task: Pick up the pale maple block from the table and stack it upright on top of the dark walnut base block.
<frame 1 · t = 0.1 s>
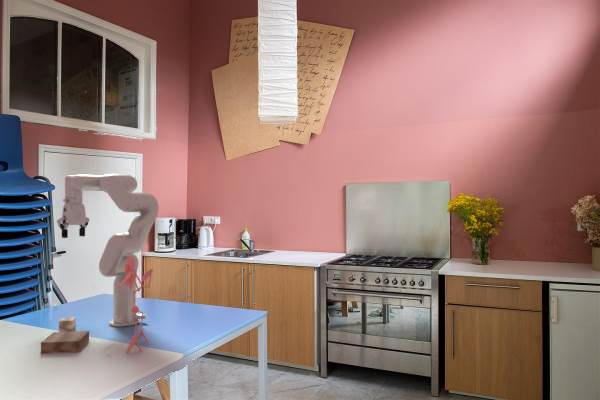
hand: (73, 237, 221), 37 cm above the table, fingers open, 9 cm apart
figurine: (127, 349, 174), on the table
walnut base: (66, 347, 175), on the table
maple block: (67, 333, 192), on the table
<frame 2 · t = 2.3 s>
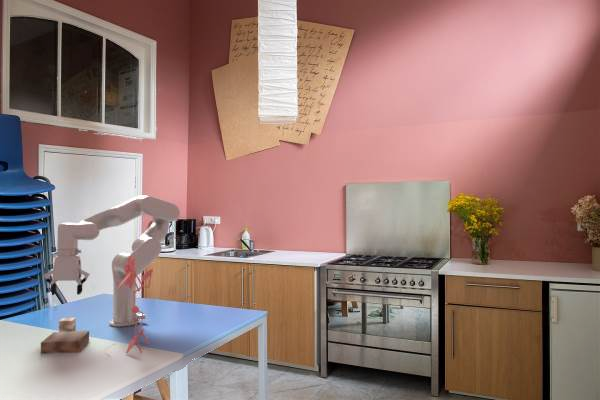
hand: (66, 294, 191), 16 cm above the table, fingers open, 9 cm apart
nothing on the table moved.
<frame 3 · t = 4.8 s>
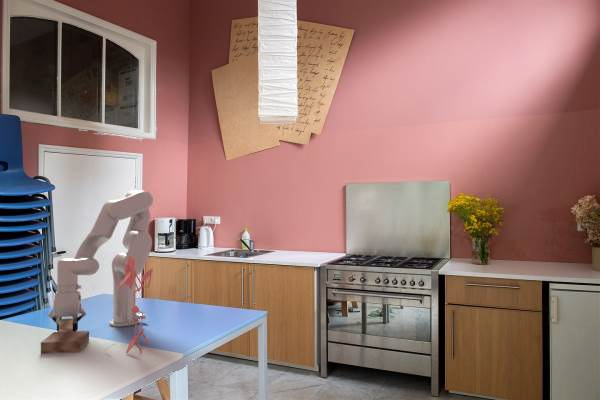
hand: (67, 331, 192), 1 cm above the table, fingers closed on maple block, 5 cm apart
maple block: (67, 333, 192), on the table, touching gripper
everything else where it was.
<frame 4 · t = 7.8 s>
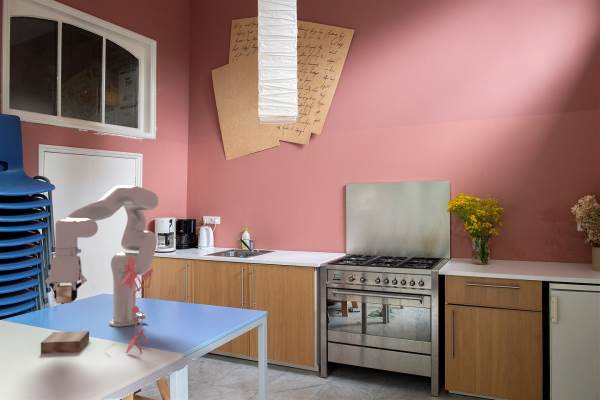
hand: (65, 299, 175), 18 cm above the table, fingers closed on maple block, 5 cm apart
maple block: (65, 301, 175), point 17 cm above the table, touching gripper
everything else where it was.
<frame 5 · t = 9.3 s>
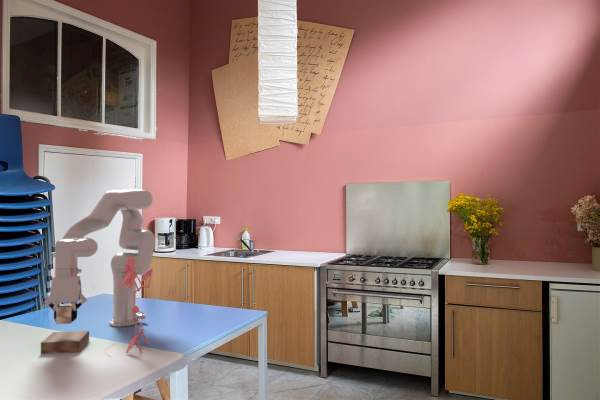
hand: (65, 320, 175), 10 cm above the table, fingers closed on maple block, 5 cm apart
maple block: (65, 322, 175), point 10 cm above the table, touching gripper
everything else where it was.
when the fingers open (6 cm above the table, at t = 10.9 s): maple block drops 1 cm, resting on walnut base.
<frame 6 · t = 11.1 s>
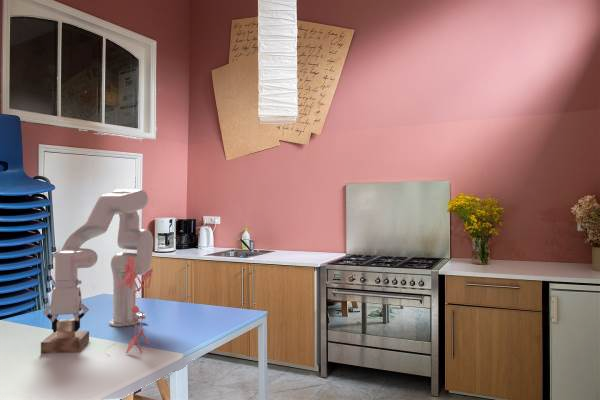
hand: (66, 330, 175), 6 cm above the table, fingers open, 6 cm apart
maple block: (66, 336, 175), point 4 cm above the table, touching walnut base
everything else where it was.
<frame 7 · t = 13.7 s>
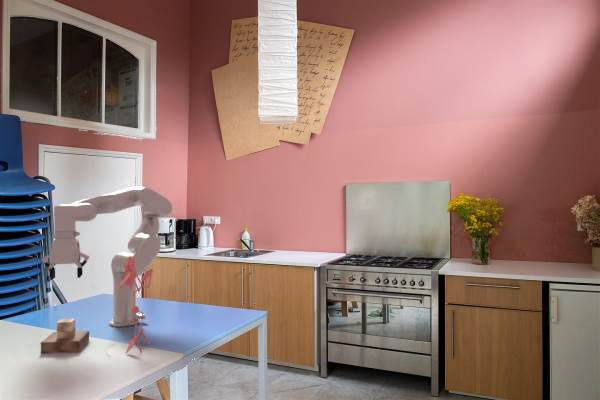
hand: (66, 277, 185), 24 cm above the table, fingers open, 9 cm apart
nothing on the table moved.
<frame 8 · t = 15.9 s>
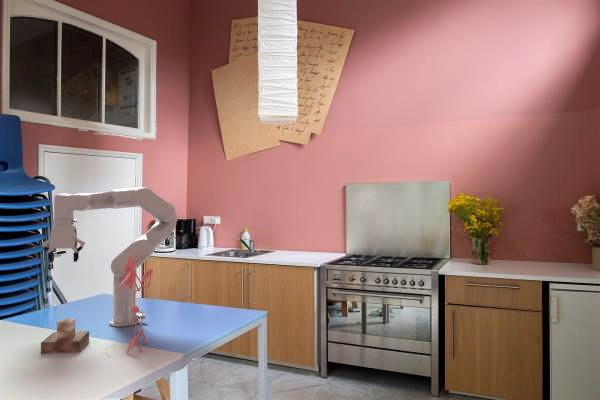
hand: (63, 261, 202), 28 cm above the table, fingers open, 9 cm apart
nothing on the table moved.
at the end: maple block inside the target area on the walnut base (0.0 cm from its centre), point 4.0 cm above the walnut base's base; maple block tilted 0°; the gripper is holding nothing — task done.
